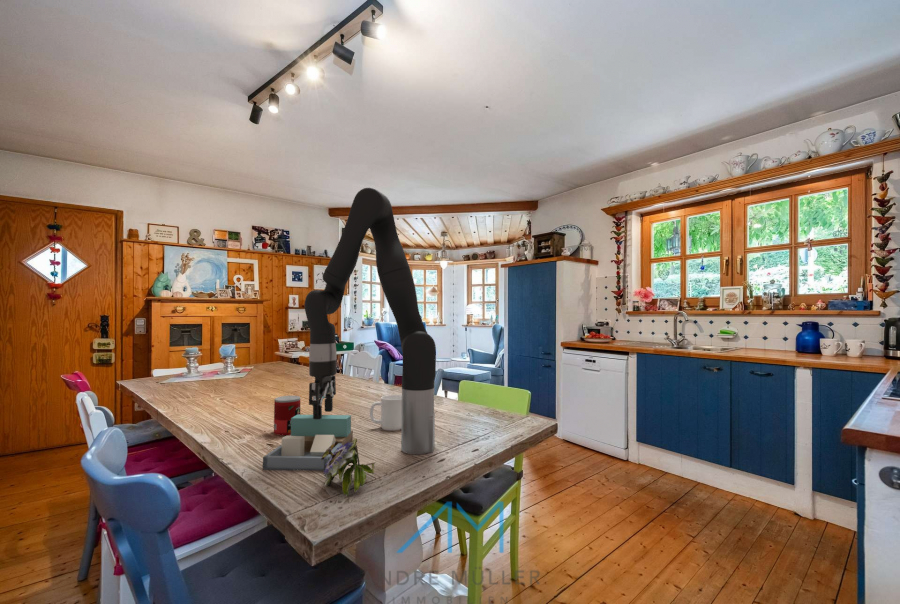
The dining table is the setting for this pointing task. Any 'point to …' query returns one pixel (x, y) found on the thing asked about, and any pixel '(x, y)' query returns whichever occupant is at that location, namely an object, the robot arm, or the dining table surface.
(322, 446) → the tile
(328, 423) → the teal rectangular block
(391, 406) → the cup
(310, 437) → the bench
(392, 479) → the dining table surface
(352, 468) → the passion flower
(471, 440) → the dining table surface
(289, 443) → the tile
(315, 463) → the tray
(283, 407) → the canned food
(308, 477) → the dining table surface
